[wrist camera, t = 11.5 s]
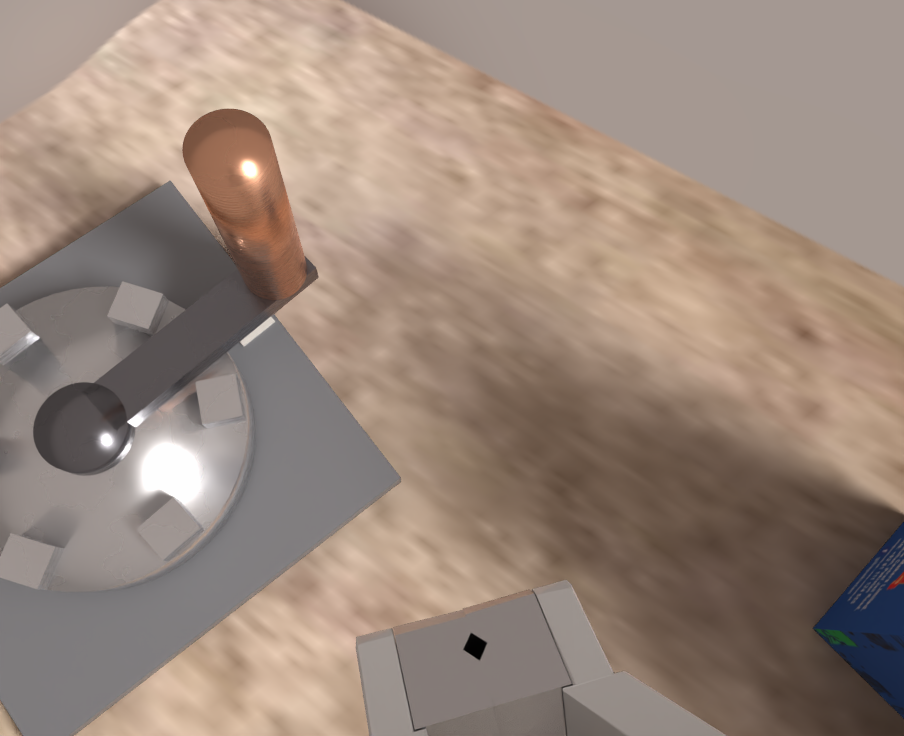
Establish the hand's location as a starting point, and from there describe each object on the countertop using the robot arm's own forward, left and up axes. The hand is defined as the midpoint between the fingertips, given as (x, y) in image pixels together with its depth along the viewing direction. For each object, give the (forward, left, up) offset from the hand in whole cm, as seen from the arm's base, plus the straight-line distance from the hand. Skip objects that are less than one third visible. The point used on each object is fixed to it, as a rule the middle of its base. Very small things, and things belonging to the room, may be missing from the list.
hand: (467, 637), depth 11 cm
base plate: (+15, +7, -30) cm, 34 cm away
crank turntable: (+16, +4, -28) cm, 33 cm away
